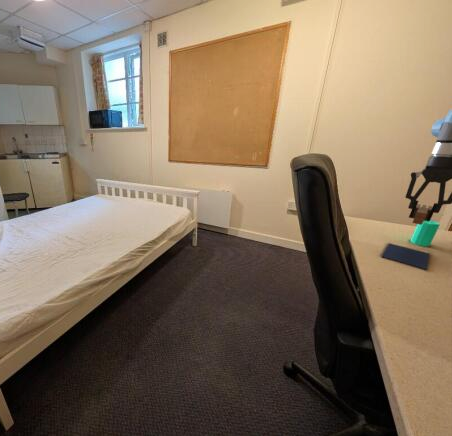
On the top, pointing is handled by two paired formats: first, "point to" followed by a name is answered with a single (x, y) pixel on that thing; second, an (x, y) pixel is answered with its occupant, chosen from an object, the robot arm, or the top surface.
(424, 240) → the candle
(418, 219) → the brown rectangular bar
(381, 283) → the top surface
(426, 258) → the placemat
